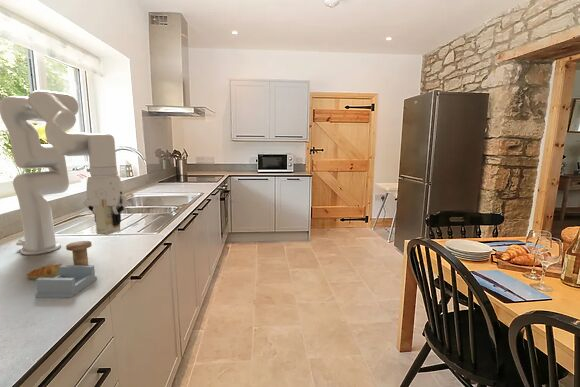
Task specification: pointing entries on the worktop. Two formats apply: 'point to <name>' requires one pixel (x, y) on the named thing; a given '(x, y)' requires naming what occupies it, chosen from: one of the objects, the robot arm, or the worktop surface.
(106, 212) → the skincare box
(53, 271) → the pastry
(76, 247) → the wooden mushroom
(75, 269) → the grey rectangular frame
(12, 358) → the worktop surface
